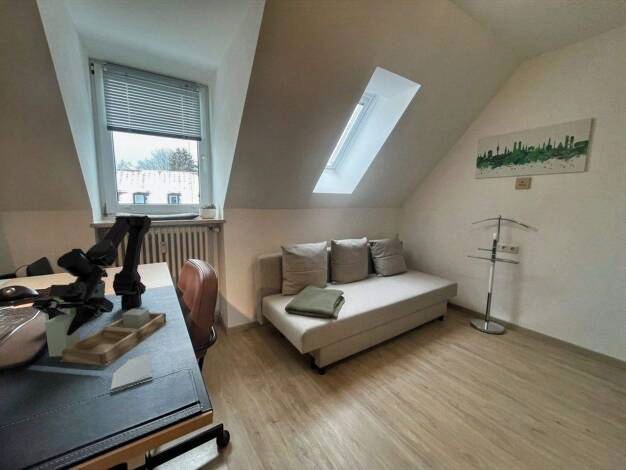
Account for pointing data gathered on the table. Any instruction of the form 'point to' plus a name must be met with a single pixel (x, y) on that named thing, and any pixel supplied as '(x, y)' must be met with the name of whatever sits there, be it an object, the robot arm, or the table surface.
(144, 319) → the grey jaw block
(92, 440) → the table surface
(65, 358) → the oak housing tray
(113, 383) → the hard drive
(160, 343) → the table surface
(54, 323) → the green block
